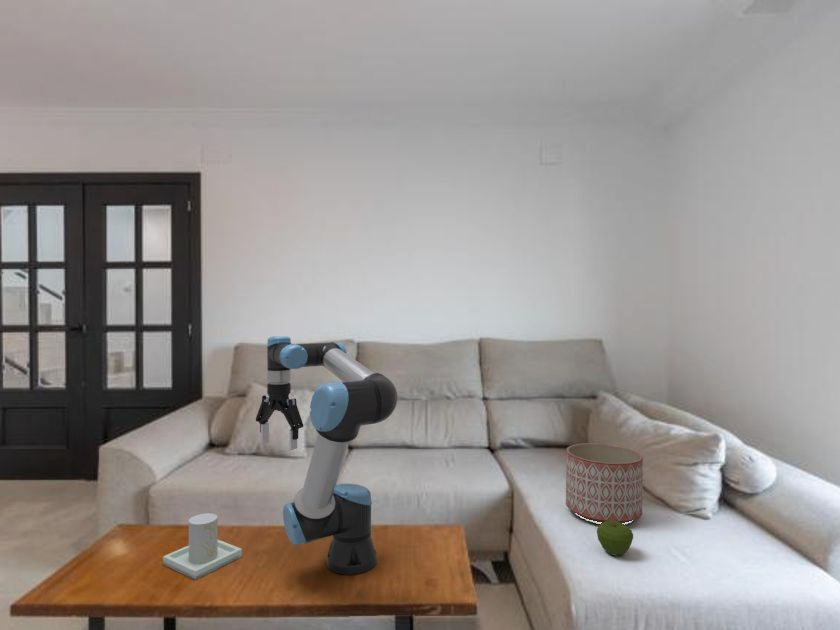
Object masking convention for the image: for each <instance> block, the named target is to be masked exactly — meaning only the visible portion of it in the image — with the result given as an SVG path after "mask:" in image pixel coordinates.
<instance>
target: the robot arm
mask: <svg viewBox="0 0 840 630" xmlns="http://www.w3.org/2000/svg"><path fill="white" fill-rule="evenodd" d="M266 349H267V351H266V352H267V353H266V354H267V357H266V359H267V360H266V363H267V366H266V367H267V371H266V375H267V376H266V382H267V386H266V390H267V391H266V393H267V394H265V395H262V396H261V403H260V406H259V409H258V411H257V414H256V417H255V421H256V422H258V423H259V429H260V430H259V431H260V444H262V445H264V444H267V443H269V442H270V425H269V420H270V418H271V416H272V415H273V413H274V412H275V411H277V412H280V413H281V414H283V415H284V417H285V419H286V421H287V423H288V426H289V427H290V429H289V440H288V441H289V451H293V450H295V449H296V450H297V449H298V439H299V429H301V428H304V423H303V420H302V416H301V413H300V411H299V408H298V406H297V405H298V404H297V403H298V402H297V399H296V397H295V398H289V397H290V396H289V395H290V394H291V392H292V391H291V389H292V388H291V386H292V385H291V383H290V382H291V376H292V375H291V372H292V371H291V370H298V369H301V368H309V367H324V368H325V369H327V370H328V371H329V372H330V373H332V374H333V375H334V376H335V377H337V379H339V380H340V381H342V382H340V381H334V382H333V381H332V382H330V383H324V384H322V385H320V386H319V387H317V388H316V389H315V391H314V393H313V395H312V397H311V400H310V405H309V409H310V411H309V417H310V418H309V419H310V422H311V424H312V426H313V428H314V430H315V431H316V433H317V436H316V440H315V444H314V447H313V451H312V454H311V458H310V461H309V465H308V469H307V472H306V475H305V479H304V484H303V486H302V488H300V489H299V490H298V491H297V492H296V494H295V496H294V499H293V501H292V502H291V501H289V502H287V503H285V504H284V505H283V509H282V516H283V517H282V519H283V525H284V529H285V532H286V535H287V538H288V540H289V541H290V543H291V544H292V545H295V546H299V545H303V544H304V545H305V544H308V543H312V542H314V541H315V542H316V541H318V540H322V539H325V538H328V537H332V540H331V543H330V545H329V550H328V552H327V554H326V566H327V568H328V569H329V570H330V571H331V572H333V573H336V574H340V575H346V576H347V575H352V576H353V575H358V574H363V573H366V572H368V571H370V570H372V569H373V568H374V567H375V566H376V563H377V557H378V556H377V551H376V549H375V546H374V542H373V537H372V494H371V491H370V489H369V488H368V487H366V486H364V485H360V484H356V483H339V484H337V483H338V480H339V477H340V474H341V471H342V467H343V464H344V460H345V457H346V453H347V451H348V448H349V444H350V442H352V441H354V440H355V439H356V438H357V437H358V435H359V432H360V429H361V427H362V426H369V425H373V424H379V423H381V422H383V421H386V420H387V419H388V418H389V417H391V415H392V414H393V412H394V411H395V410H396V407H397V403H398V391H397V387H396V386H395V385H394V382H393V381H392V380H390V379H389V378H388V377H386V375H384V374H382V373H380V372H374V371H372V370H370V369H369V368H368V367H366V366H364V365H363V364H361V363H360V362H359V361H358V360H356V359H354V358H353V357H352V356H350V355H349V354H347V348H346V347H345V345H344V344H343V343H342V342H334V341H331V342H316V343H292V341H291V337H290V336H286V335H285V336H284V335H282V336H281V335H276V336H269V337H268V338H267V345H266Z"/></svg>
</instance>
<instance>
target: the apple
mask: <svg viewBox="0 0 840 630" xmlns="http://www.w3.org/2000/svg"><path fill="white" fill-rule="evenodd" d="M596 535H597V539H598V541H599V543H600V545H601V547H602V549H604V550H605V551H606V552H607V553H608V552H609V553H608V554H610V555H612V554H613V555H612V556H616V555H617V556H622V555H624V554H626V553H627V552H628V550H629V549H630V547H631V545H632V543H633V539H634V533H633V531H632V529H631V528H630V527H628V525H624V524H622V523H620V522H617V521H605V522H603V523H601V524H600V525H598V527H597V529H596Z"/></svg>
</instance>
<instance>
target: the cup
mask: <svg viewBox="0 0 840 630" xmlns="http://www.w3.org/2000/svg"><path fill="white" fill-rule="evenodd" d="M218 518H219V517H218V515H217V514H215V513H211V512H210V513H209V512H207V513H206V512H205V513H200V514H196V515H194V516H193V515H192V517H190V518H189V519H188V546H189V562H190V563H192V564H205V563H208V562H211V561H213V560H214V559H216V558H217V542H218V540H219V539H218V534H219V533H218V528H219V527H218Z"/></svg>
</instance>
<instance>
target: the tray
mask: <svg viewBox="0 0 840 630" xmlns="http://www.w3.org/2000/svg"><path fill="white" fill-rule="evenodd" d="M242 557H243V548H240V547H239V546H235V545H233V544H230V543H227V542H225V541H223V540H220V539H218V542H217V558H216V559H214V560H213V561H211V562H208V563H205V564H192V563H190V562H189V545H187V546H184V547H182V548H179V549H178V550H175V551H172V552H170V553H168V554H166V555H163V556H162V565H163V566H165V567H166V568H170V569H172V570H173V571H175V572H177V573H179V574H181V575H184V576H186V577H188V578H190V579H192V580H193V581H196V580H199V579H201V578H202V577H205V576H206V575H208V574H211V573H213V572H214V571H216V570H218V569H220V568H222V567H224V566H227V565H228V564H230V563H232V562H234V561H236V560H239V559H241V558H242Z"/></svg>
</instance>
